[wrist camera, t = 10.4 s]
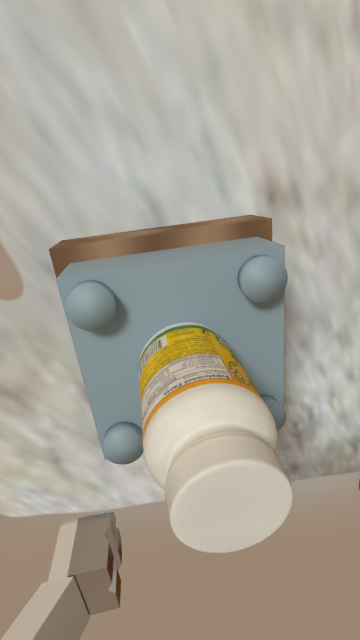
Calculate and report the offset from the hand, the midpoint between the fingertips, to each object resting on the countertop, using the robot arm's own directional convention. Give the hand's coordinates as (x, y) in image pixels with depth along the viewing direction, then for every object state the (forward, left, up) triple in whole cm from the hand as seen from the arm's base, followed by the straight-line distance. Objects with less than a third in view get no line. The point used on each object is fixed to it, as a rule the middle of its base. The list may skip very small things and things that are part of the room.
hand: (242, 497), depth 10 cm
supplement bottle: (0, 0, -10) cm, 10 cm away
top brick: (0, 0, -13) cm, 13 cm away
